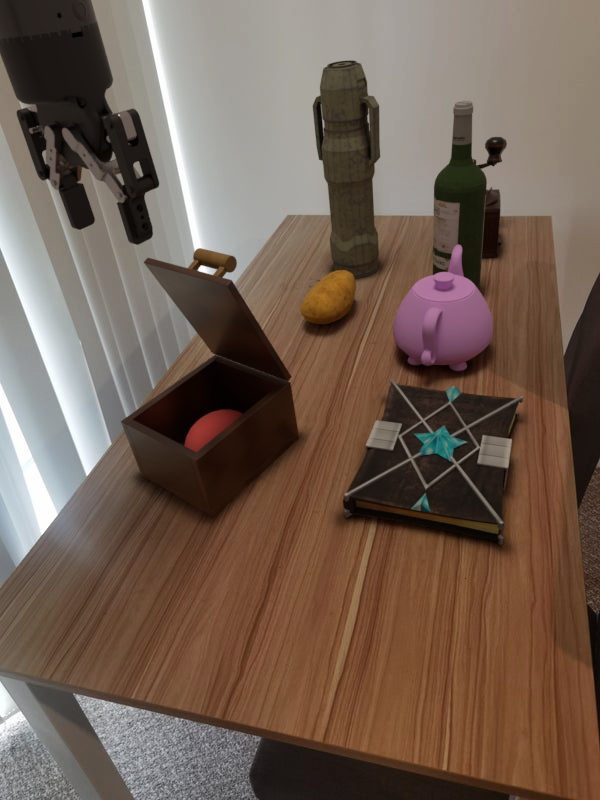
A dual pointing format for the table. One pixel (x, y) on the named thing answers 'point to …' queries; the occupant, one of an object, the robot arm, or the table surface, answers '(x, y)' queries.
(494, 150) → the coffee grinder
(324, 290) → the potato
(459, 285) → the teapot
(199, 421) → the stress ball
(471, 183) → the wine bottle
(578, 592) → the table surface
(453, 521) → the book
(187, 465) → the chest
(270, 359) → the lid
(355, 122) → the tall handled vase
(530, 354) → the table surface
